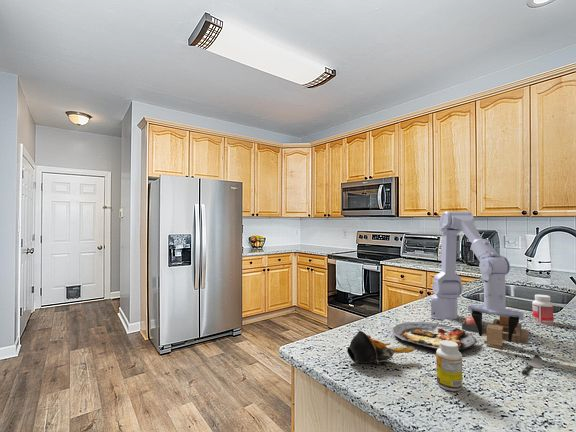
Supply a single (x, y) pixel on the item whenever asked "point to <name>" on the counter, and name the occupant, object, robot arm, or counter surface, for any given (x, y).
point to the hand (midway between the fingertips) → (495, 338)
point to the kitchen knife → (533, 364)
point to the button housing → (471, 326)
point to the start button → (470, 321)
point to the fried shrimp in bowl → (372, 350)
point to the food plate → (432, 334)
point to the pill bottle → (542, 310)
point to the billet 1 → (495, 336)
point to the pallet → (518, 334)
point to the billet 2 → (504, 321)
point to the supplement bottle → (449, 366)
